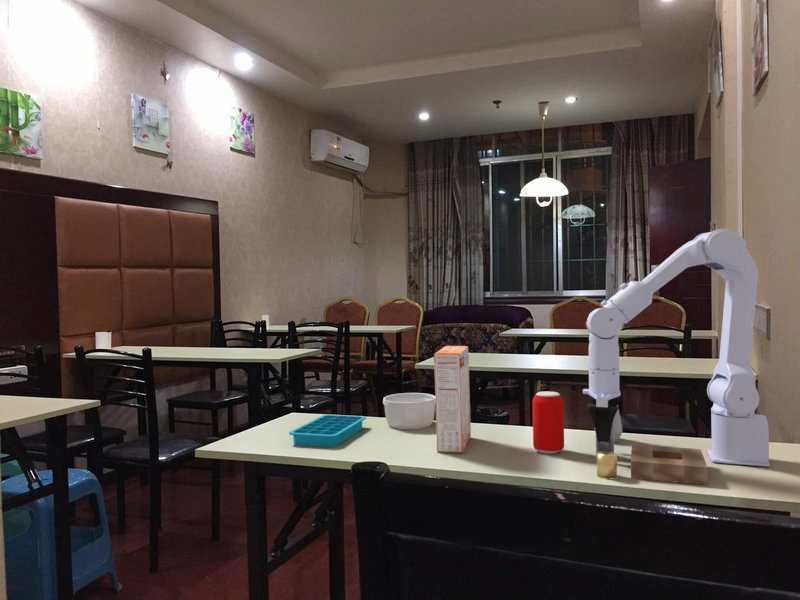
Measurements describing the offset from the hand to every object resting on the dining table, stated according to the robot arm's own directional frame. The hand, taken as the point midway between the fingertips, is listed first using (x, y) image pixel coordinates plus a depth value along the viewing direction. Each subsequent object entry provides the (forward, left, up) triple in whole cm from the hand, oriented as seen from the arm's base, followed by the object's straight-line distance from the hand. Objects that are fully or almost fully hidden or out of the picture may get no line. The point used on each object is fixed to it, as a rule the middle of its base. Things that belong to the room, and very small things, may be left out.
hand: (604, 436), depth 119 cm
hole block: (-11, +7, -4) cm, 14 cm away
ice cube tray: (+61, +2, -4) cm, 61 cm away
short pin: (-1, +13, -4) cm, 14 cm away
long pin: (0, 0, -4) cm, 4 cm away
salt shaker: (0, -13, -4) cm, 14 cm away
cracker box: (+31, +1, -4) cm, 31 cm away
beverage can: (+11, 0, -4) cm, 12 cm away
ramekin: (+47, -14, -4) cm, 49 cm away
